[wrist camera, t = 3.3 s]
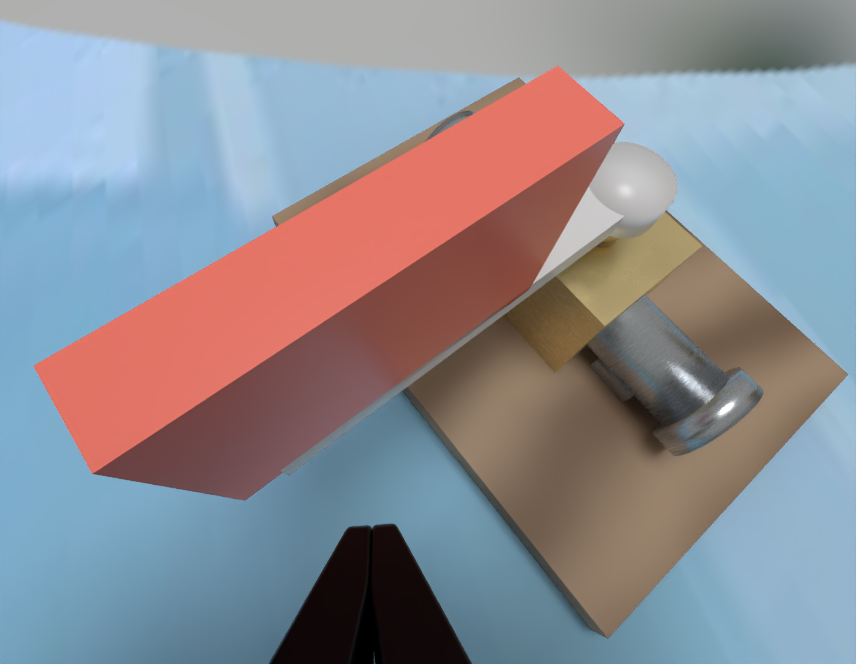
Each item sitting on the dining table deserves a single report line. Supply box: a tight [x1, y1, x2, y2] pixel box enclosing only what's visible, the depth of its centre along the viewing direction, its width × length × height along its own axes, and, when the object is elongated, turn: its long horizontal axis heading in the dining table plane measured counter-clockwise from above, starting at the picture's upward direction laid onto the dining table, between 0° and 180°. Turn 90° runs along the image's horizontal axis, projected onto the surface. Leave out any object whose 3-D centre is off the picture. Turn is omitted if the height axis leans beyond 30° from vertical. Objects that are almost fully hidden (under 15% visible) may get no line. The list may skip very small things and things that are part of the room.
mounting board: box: [272, 78, 848, 638], centre depth 23 cm, size 22×16×2 cm
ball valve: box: [425, 111, 764, 456], centre depth 19 cm, size 16×5×6 cm, turn 39°
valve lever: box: [34, 66, 677, 500], centre depth 11 cm, size 15×3×7 cm, turn 129°
